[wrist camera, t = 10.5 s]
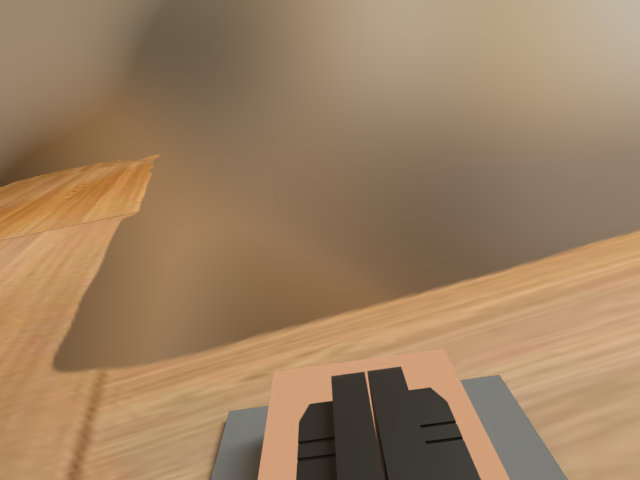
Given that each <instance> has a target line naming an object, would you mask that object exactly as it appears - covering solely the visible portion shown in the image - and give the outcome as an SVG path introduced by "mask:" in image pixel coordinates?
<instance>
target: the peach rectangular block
mask: <svg viewBox="0 0 640 480" xmlns="http://www.w3.org/2000/svg"><path fill="white" fill-rule="evenodd" d="M400 366H401V368H402V370H403V374H404V377H405V380H406V383H407V386H408V389H409V390H414V389H422V388H429V387H431V388H432V389H433V390H434V391H435V392H437V393H438V394H439V395H440V396H441V397H442V398H444V399H445V400H446V401H447V402H448V404H449V407H450V409H451V411H452V413H453V416H454V418H455V420H456V424H457V425H458V427H459V430H460V432H461V434H462V437H463V441H465V444H466V446H467V448H468V451H469V453H470V455H471V458H472V460H473V462H474V464H475V467H476V469H477V471H478V474H479V476H480V478H481V480H510V479H509V477H508V475H507V473H506V471H505V469H504V467H503V465H502V463H501V461H500V459H499V457H498V455H497V453H496V451H495V449H494V447H493V445H492V443H491V441H490V439H489V437H488V435H487V433H486V431H485V429H484V427H483V425H482V423H481V421H480V419H479V417H478V415H477V413H476V411H475V409H474V407H473V405H472V403H471V401H470V399H469V397H468V395H467V393H466V391H465V389H464V387H463V385H462V383H461V381H460V379H459V377H458V375H457V373H456V371H455V369H454V367H453V365H452V363H451V361H450V359H449V357H448V355H447V353H446V351H445V349H438V350H430V351H423V352H416V353H408V354H401V355H394V356H386V357H379V358H372V359H364V360H357V361H350V362H342V363H335V364H328V365H321V366H313V367H306V368H299V369H291V370H284V371H277V372H274V375H273V381H272V388H271V395H270V401H269V408H268V414H267V421H266V428H265V434H264V441H263V447H262V454H261V461H260V467H259V474H258V480H296V473H297V463H298V461H297V452H298V431H299V421H300V419H301V418H302V416H303V414H304V413H305V411H306V409H307V407H308V406H309V404H313V403H320V402H327V401H333V400H332V383H331V376H336V375H343V374H351V373H358V372H365V377H366V382H367V388H368V394H369V399H370V405H371V410H372V416H373V409H372V402H371V395H370V388H369V381H368V373H367V371H371V370H379V369H386V368H393V367H400ZM373 421H374V417H373ZM374 427H375V424H374ZM375 432H376V431H375Z"/></svg>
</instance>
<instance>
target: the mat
mask: <svg viewBox="0 0 640 480" xmlns="http://www.w3.org/2000/svg"><path fill="white" fill-rule="evenodd" d="M460 381H461V383H462V385H463V387H464V389H465V391H466V393H467V395H468V397H469V399H470V401H471V403H472V405H473V407H474V409H475V411H476V413H477V415H478V417H479V419H480V421H481V423H482V425H483V427H484V429H485V431H486V433H487V435H488V437H489V439H490V441H491V443H492V445H493V447H494V449H495V451H496V453H497V455H498V457H499V459H500V461H501V463H502V465H503V467H504V469H505V471H506V473H507V475H508V477H509V479H510V480H568V479H567V478H566V476H565V475H564V473H563V472H562V470H561V469H560V467H559V466H558V464H557V463H556V461H555V459H554V458H553V456H552V455H551V453H550V452H549V450H548V449H547V447H546V446H545V444H544V443H543V441H542V440H541V438H540V436H539V435H538V433H537V432H536V430H535V429H534V427H533V426H532V424H531V423H530V421H529V420H528V418H527V417H526V415H525V413H524V412H523V410H522V409H521V407H520V406H519V404H518V403H517V401H516V400H515V398H514V397H513V395H512V394H511V392H510V390H509V389H508V387H507V386H506V384H505V383H504V381H503V380H502V378H501V377H500V375H495V376H488V377H480V378H473V379H465V380H460ZM268 408H269V406H264V407H257V408H249V409H242V410H234V411H229V414H228V418H227V421H226V425H225V429H224V432H223V436H222V440H221V443H220V447H219V451H218V454H217V458H216V462H215V465H214V469H213V473H212V476H211V480H258V474H259V467H260V461H261V454H262V447H263V441H264V434H265V428H266V421H267V414H268Z"/></svg>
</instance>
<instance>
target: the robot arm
mask: <svg viewBox="0 0 640 480" xmlns="http://www.w3.org/2000/svg"><path fill="white" fill-rule="evenodd" d="M367 373H368V381H369V388H370V395H371V402H372V409H373V416H372V410H371V405H370V399H369V394H368V388H367V382H366V377H365V372H358V373H351V374H343V375H336V376H331V383H332V400H333V401H327V402H320V403H313V404H309V406H308V407H307V409H306V411H305V413H304V414H303V416H302V418H301V419H300V421H299V431H298V452H297V461H298V463H297V473H296V480H481V478H480V476H479V474H478V471H477V469H476V467H475V464H474V462H473V460H472V458H471V455H470V453H469V451H468V448H467V446H466V444H465V441H463V437H462V434H461V432H460V430H459V427H458V425H457V424H456V420H455V418H454V416H453V413H452V411H451V409H450V407H449V404H448V402H447V401H446V400H445V399H444V398H442V397H441V396H440V395H439V394H438V393H437V392H435V391H434V390H433V389H432V388H431V387H429V388H422V389H414V390H409V389H408V386H407V383H406V380H405V377H404V374H403V370H402V368H401V366H400V367H393V368H386V369H379V370H371V371H367ZM373 417H374V421H373ZM374 424H375V427H374ZM375 431H376V432H375Z"/></svg>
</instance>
